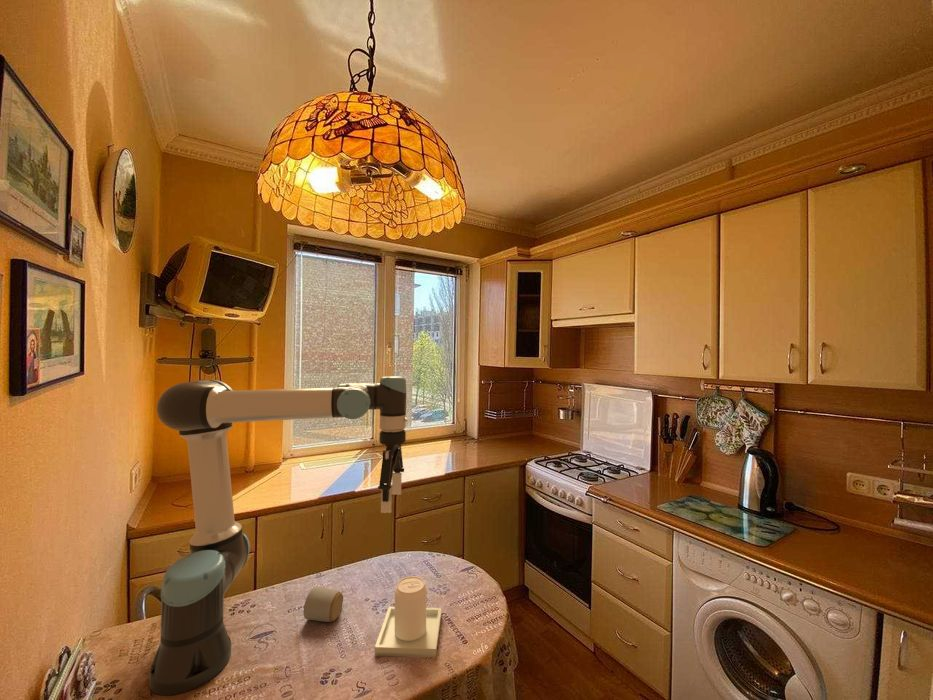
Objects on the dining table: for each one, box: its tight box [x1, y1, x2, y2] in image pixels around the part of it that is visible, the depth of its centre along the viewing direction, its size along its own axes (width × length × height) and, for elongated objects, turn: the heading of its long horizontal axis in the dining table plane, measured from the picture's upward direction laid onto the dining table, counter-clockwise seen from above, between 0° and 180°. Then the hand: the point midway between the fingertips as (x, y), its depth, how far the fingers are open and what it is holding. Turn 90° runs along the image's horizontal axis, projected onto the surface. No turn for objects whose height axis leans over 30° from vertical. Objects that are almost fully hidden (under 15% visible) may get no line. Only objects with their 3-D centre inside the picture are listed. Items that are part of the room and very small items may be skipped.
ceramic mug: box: [303, 585, 344, 623], centre depth 104 cm, size 11×8×8 cm
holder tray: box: [374, 606, 443, 659], centre depth 97 cm, size 15×15×2 cm
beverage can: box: [394, 575, 428, 641], centre depth 97 cm, size 8×8×12 cm
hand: (391, 502), depth 109 cm, fingers open, 13 cm apart
